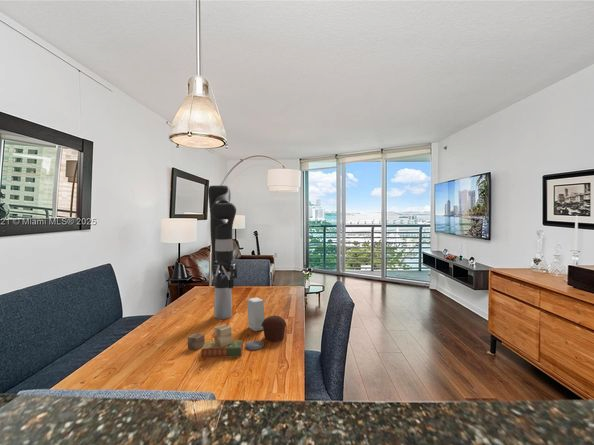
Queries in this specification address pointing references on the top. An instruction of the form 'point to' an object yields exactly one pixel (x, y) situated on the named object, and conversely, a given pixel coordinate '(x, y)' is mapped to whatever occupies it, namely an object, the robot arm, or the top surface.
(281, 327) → the muffin
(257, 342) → the grey disc
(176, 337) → the top surface
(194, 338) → the walnut block
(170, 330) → the top surface
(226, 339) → the oak block
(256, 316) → the skincare box
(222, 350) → the carton
